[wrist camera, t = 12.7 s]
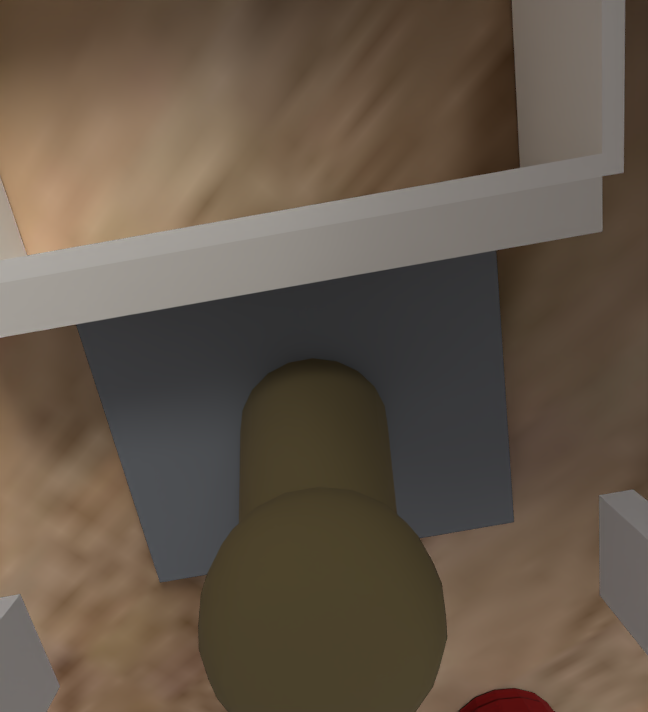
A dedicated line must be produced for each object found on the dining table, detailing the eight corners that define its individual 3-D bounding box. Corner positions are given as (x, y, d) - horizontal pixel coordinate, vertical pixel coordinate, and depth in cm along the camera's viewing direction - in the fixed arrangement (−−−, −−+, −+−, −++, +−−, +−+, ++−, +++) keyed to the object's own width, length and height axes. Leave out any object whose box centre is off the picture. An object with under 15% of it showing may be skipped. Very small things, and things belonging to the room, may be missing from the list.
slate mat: (87, 317, 18) (75, 322, 17) (485, 247, 18) (496, 248, 17) (166, 566, 21) (159, 582, 21) (504, 508, 21) (514, 522, 20)
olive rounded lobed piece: (224, 474, 19) (125, 778, 9) (261, 340, 18) (196, 506, 7) (361, 508, 20) (425, 827, 9) (408, 381, 18) (547, 589, 8)
